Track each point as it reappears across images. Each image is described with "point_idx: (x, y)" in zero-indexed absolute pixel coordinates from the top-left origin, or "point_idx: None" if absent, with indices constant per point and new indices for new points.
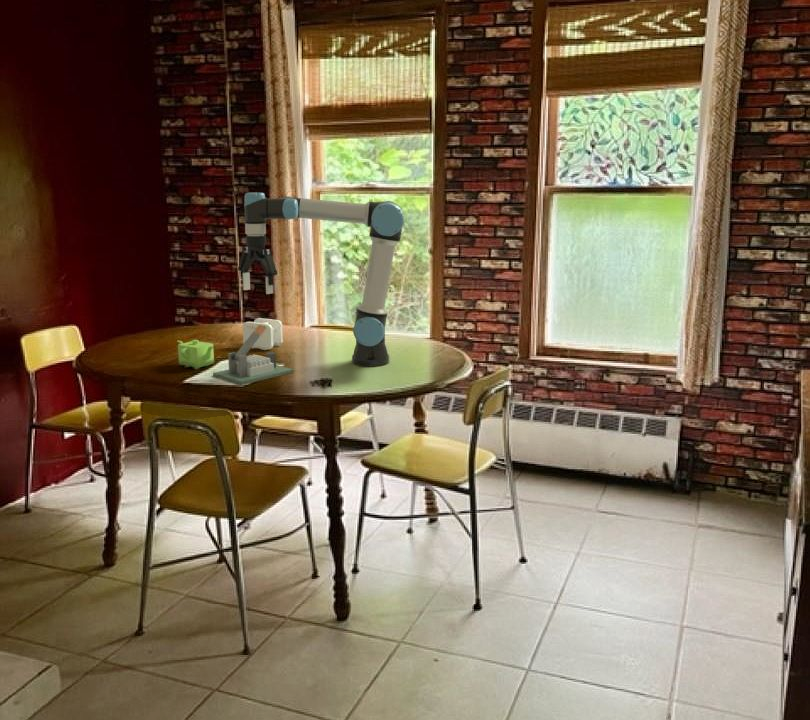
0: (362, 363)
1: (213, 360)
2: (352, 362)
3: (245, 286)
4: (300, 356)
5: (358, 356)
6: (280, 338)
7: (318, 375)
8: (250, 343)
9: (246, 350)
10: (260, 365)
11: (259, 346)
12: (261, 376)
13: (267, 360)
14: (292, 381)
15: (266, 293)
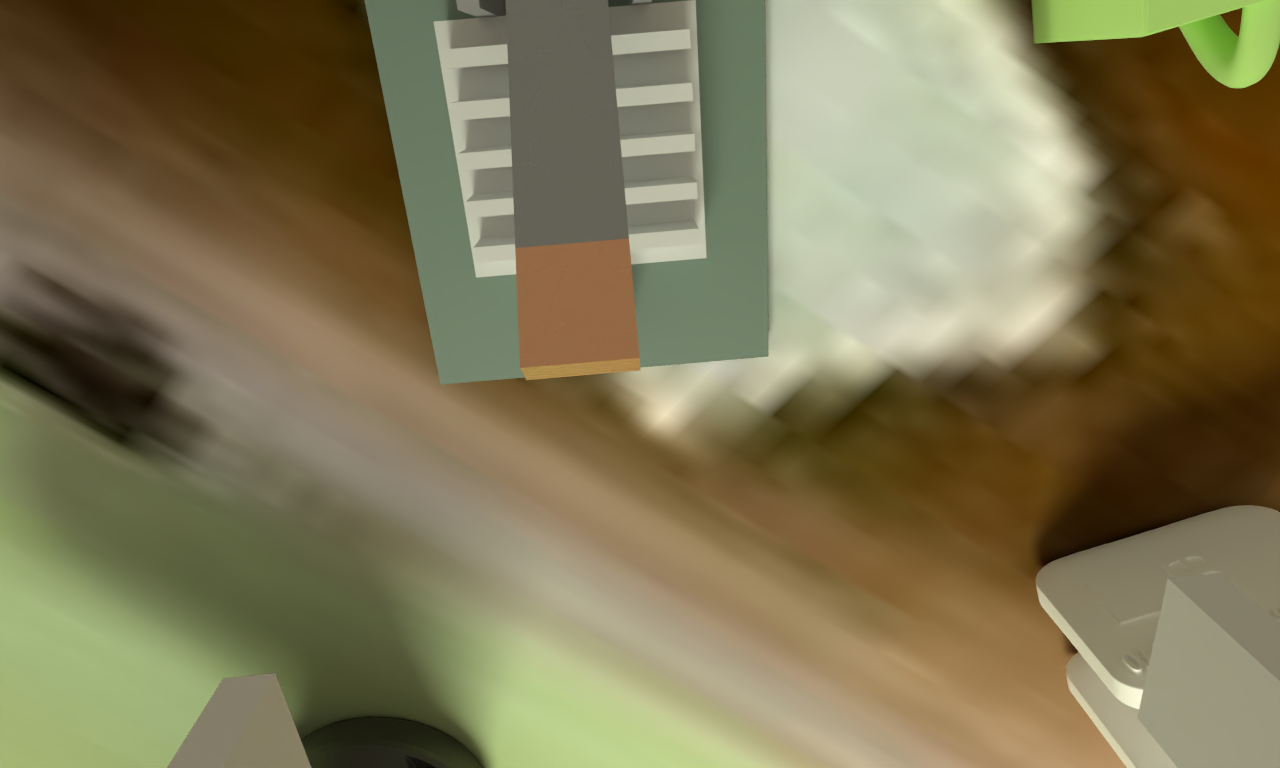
0: (323, 737)
1: (1046, 35)
2: (421, 725)
3: (1236, 679)
4: (767, 614)
5: (344, 765)
6: (1083, 694)
7: (280, 450)
8: (516, 115)
9: (509, 48)
10: (465, 149)
11: (1125, 546)
12: (393, 94)
13: (496, 242)
14: (228, 240)
15: (256, 684)
